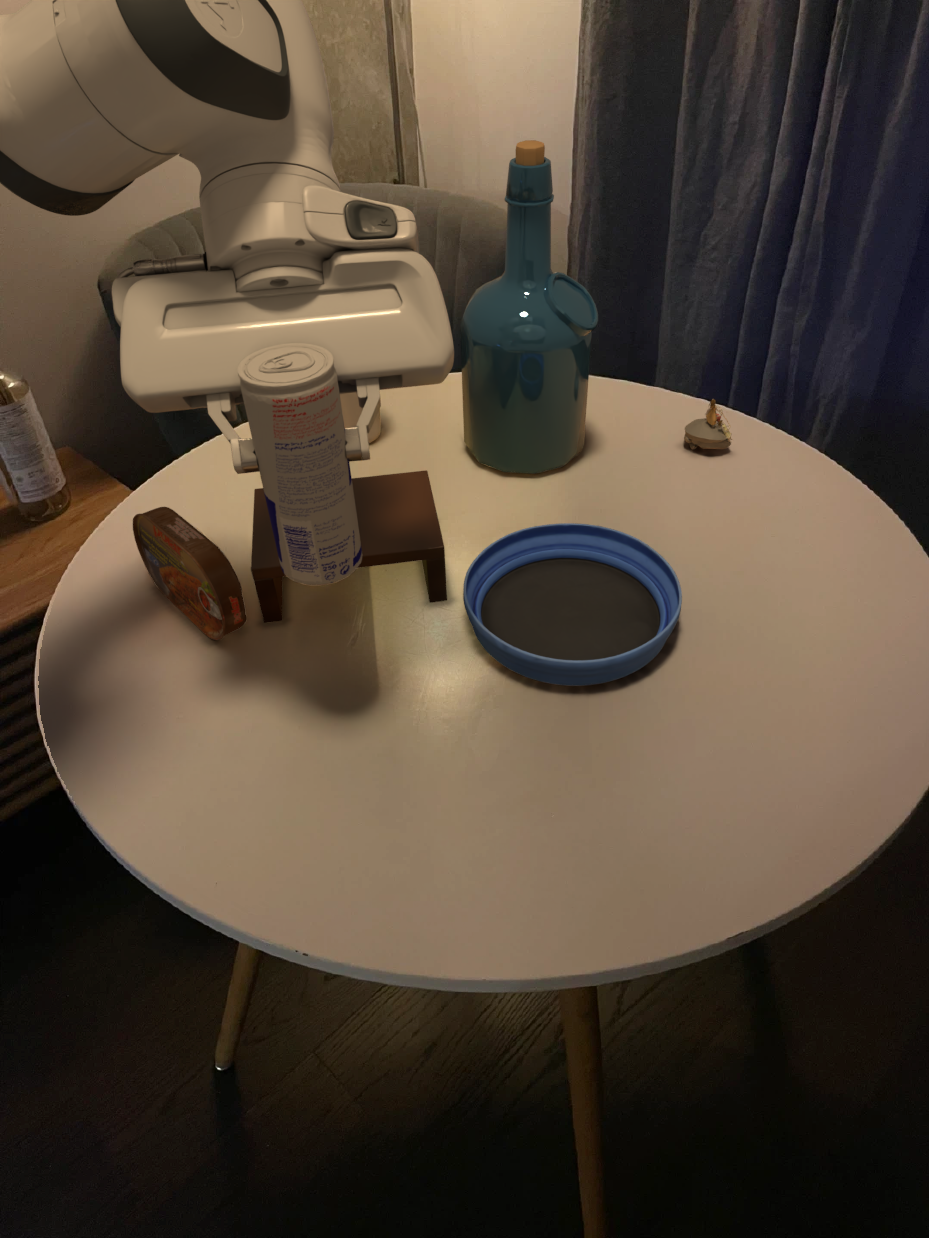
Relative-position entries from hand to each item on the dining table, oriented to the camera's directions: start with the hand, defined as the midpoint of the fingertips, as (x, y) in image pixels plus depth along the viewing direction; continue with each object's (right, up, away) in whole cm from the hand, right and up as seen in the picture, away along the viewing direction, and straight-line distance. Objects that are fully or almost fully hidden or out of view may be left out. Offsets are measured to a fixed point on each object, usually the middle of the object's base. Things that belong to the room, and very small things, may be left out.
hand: (304, 465), depth 55 cm
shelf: (0, -5, +27) cm, 27 cm away
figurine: (+36, +9, +41) cm, 55 cm away
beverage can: (0, -6, +6) cm, 9 cm away
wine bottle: (+17, +9, +42) cm, 46 cm away
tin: (-13, -9, +24) cm, 28 cm away
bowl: (+19, -10, +21) cm, 30 cm away
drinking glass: (-2, +11, +45) cm, 46 cm away
